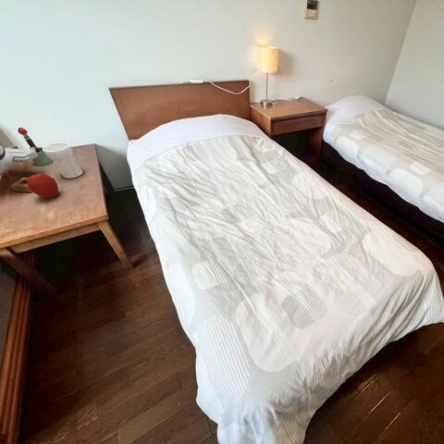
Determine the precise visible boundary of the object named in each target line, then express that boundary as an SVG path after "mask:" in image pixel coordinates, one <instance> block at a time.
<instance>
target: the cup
mask: <svg viewBox="0 0 444 444" xmlns="http://www.w3.org/2000/svg"><path fill="white" fill-rule="evenodd" d="M42 148H43V151H44V153H45V154H46V155H47V157H48V158H50V159H52V163H53V164H54V165H55V167H56V168H57V169H58V171H59V172H60V174H61V175H62V177H63V178H64V179H67V180H68V179H69V180H70V179H75V178H79V177H80V176H82V175H83V173H84V172H83V169H81V167H80V166H79V164H78V162H77V160H76V158H75V157H74V155H73V154H74V151H73V149H72V147H71V146H70V144H69V143H68V142H64V141H63V142H62V141H58V142H52V143H49V144H46V145H44V146H43V147H42Z"/></svg>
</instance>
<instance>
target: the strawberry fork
mask: <svg viewBox="0 0 444 444" xmlns="http://www.w3.org/2000/svg"><path fill="white" fill-rule="evenodd" d="M17 133H18V134H19V135H22V136H23V139H24V140H25V142H26V143H27V145H28V147H29V148H30V147H35V148H36V150H35V151H36V153H39V152H40V151H39V149H38V148H37V144H35V142H34V141H33V139H32V138H31V137H30V136H29V134H28V131H27V129H26V128H24V127H18V128H17Z"/></svg>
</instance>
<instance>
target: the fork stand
mask: <svg viewBox="0 0 444 444" xmlns="http://www.w3.org/2000/svg"><path fill="white" fill-rule="evenodd" d="M28 178H29V177H25V176H22V177H21V178H20V179H18V180H17V181H15V182H14V183H12V184H10V187H11V188H12V189H13V191H14V192H18V193H33V192H32V191H31V190H30V189H29V188H28V186H27V180H28Z"/></svg>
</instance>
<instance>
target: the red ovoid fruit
mask: <svg viewBox="0 0 444 444" xmlns="http://www.w3.org/2000/svg"><path fill="white" fill-rule="evenodd" d="M27 178H28V180H27V186H28V188H29V189H30V190H31V191H32V192H31V193H34V194H35V195H36V196H38V197H40V198H43V199H53V198H55V197H57V195H58V194H59V185H58V183H57V181H56V180H55V178H54V177H52V176H51V175H49V174H46V173H36V174H35V173H34V174H33V175H30V176H28V177H27Z"/></svg>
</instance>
